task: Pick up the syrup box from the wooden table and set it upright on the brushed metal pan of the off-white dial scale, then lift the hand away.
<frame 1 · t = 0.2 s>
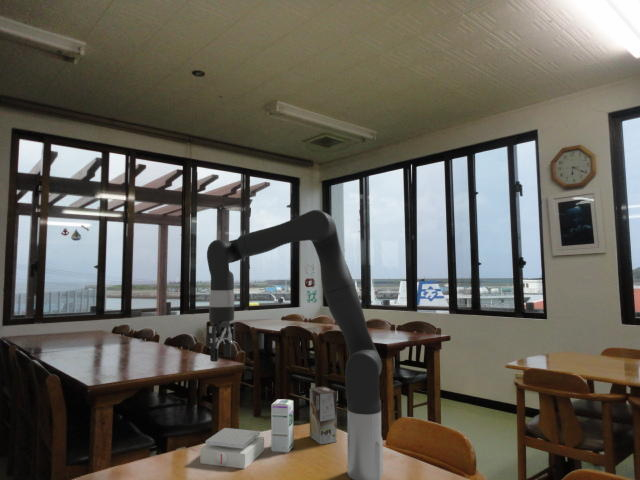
hand: (220, 359, 136), 29 cm above the table, tool pointing down, fingers open, 8 cm apart
syrup box: (282, 449, 141), on the table
dial scale: (233, 456, 134), on the table
coffee box: (322, 439, 150), on the table
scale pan: (233, 437, 135), point 6 cm above the table, slide at -0.2 cm
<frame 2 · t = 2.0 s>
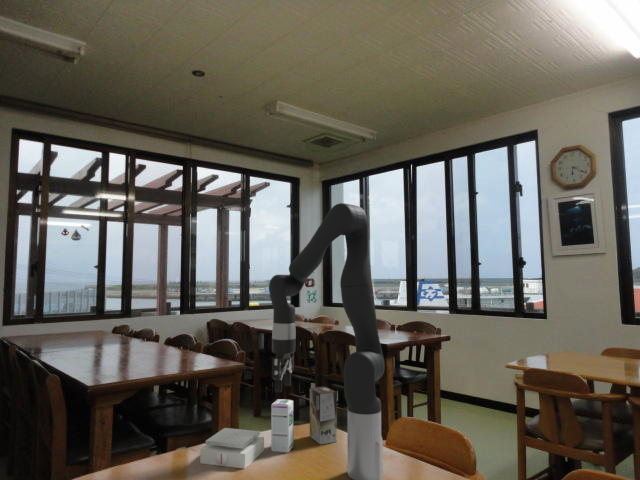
hand: (282, 388, 143), 18 cm above the table, tool pointing down, fingers open, 8 cm apart
nothing on the table moved.
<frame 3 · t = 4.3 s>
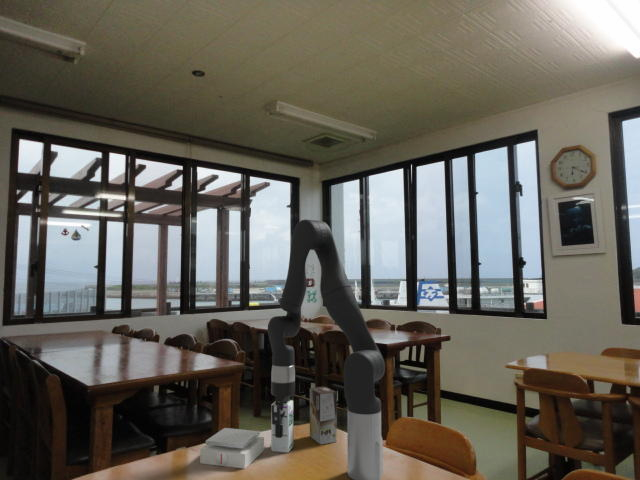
hand: (282, 433, 141), 5 cm above the table, tool pointing down, fingers closed on syrup box, 6 cm apart
syrup box: (282, 449, 141), on the table, touching gripper
everything else where it was.
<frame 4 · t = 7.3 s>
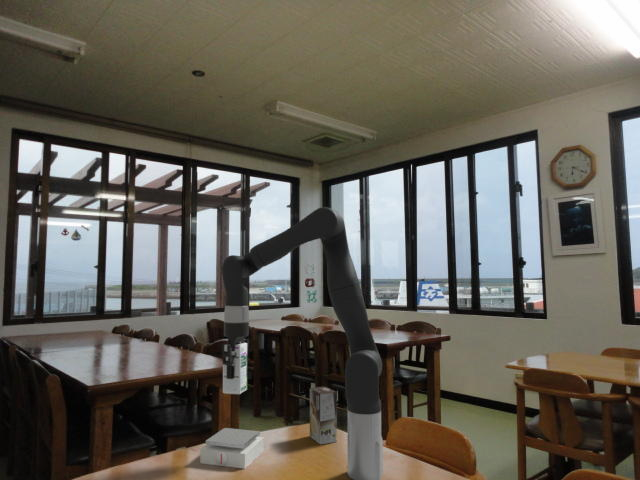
hand: (235, 376, 137), 24 cm above the table, tool pointing down, fingers closed on syrup box, 6 cm apart
syrup box: (234, 392, 136), point 19 cm above the table, touching gripper
everything else where it was.
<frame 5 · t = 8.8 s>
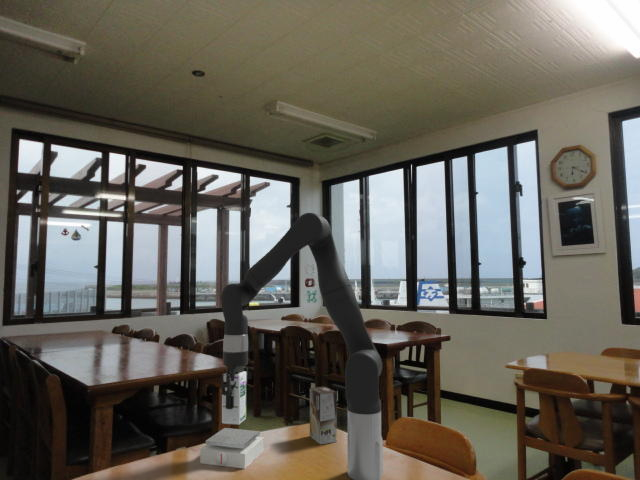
hand: (234, 405, 136), 15 cm above the table, tool pointing down, fingers closed on syrup box, 6 cm apart
syrup box: (233, 422, 135), point 10 cm above the table, touching gripper
everything else where it was.
when the fingers open (12 cm above the table, at t = 10.3 s): syrup box drops 2 cm, resting on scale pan.
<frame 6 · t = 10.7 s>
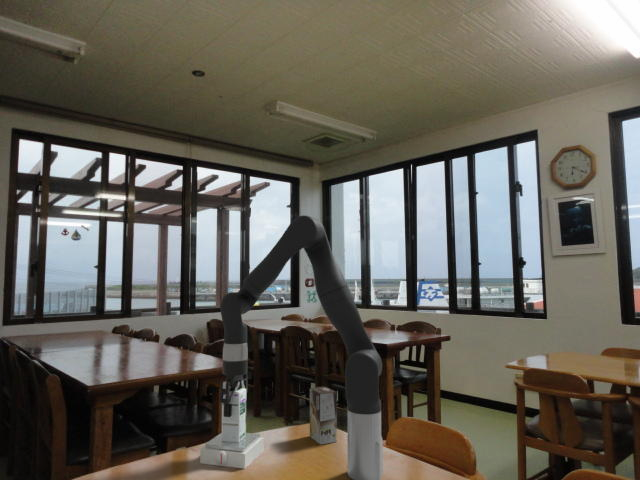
hand: (234, 412, 136), 13 cm above the table, tool pointing down, fingers open, 8 cm apart
syrup box: (233, 439, 135), point 5 cm above the table, touching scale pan
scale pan: (233, 440, 135), point 5 cm above the table, slide at -1.0 cm, touching syrup box
everything else where it was.
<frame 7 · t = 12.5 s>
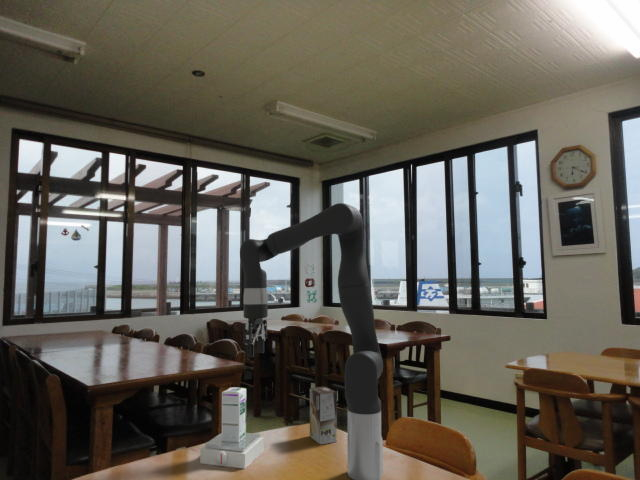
hand: (255, 355, 140), 29 cm above the table, tool pointing down, fingers open, 8 cm apart
nothing on the table moved.
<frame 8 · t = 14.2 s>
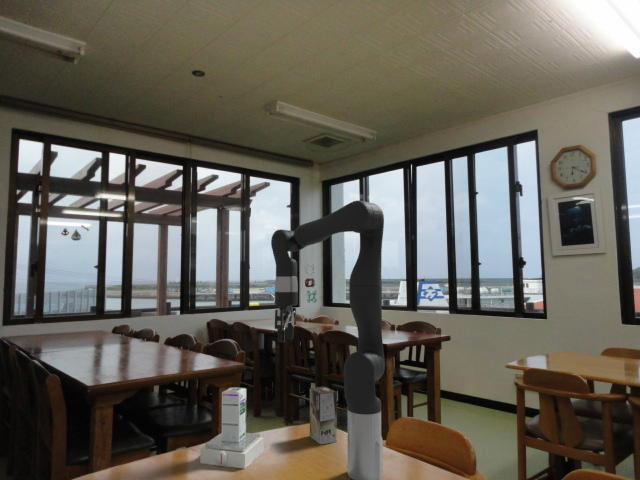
hand: (285, 340, 146), 33 cm above the table, tool pointing down, fingers open, 8 cm apart
nothing on the table moved.
at the end: syrup box inside the target area on the dial scale (0.1 cm from its centre), point 5.0 cm above the dial scale's base; syrup box tilted 0°; the gripper is holding nothing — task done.
